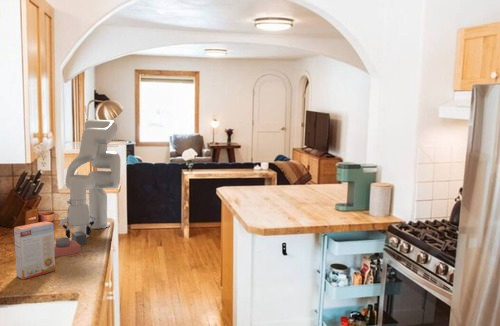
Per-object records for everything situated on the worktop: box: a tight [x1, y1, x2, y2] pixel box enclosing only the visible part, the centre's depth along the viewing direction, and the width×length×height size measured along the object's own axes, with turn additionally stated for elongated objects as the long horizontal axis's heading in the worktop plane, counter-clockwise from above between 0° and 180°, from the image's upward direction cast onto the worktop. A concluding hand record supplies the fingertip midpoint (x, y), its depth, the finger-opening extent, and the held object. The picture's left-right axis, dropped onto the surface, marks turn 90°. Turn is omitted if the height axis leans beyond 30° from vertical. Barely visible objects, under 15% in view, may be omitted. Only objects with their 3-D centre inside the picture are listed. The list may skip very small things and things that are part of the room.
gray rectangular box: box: [71, 231, 87, 246], centre depth 239 cm, size 7×5×5 cm
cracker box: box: [13, 220, 56, 280], centre depth 196 cm, size 14×6×21 cm, turn 141°
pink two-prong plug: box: [54, 236, 82, 258], centre depth 227 cm, size 17×14×6 cm
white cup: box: [74, 225, 90, 239], centre depth 250 cm, size 8×8×10 cm
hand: (78, 236), depth 238 cm, fingers open, 9 cm apart
